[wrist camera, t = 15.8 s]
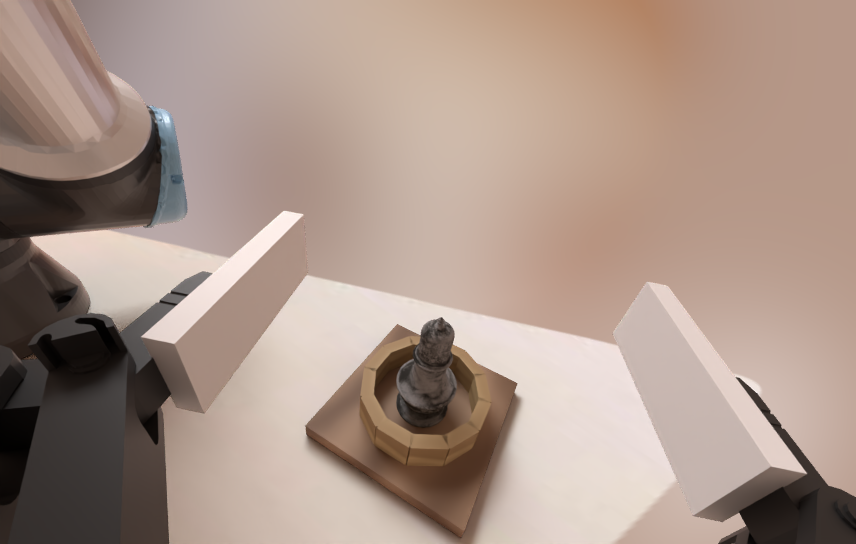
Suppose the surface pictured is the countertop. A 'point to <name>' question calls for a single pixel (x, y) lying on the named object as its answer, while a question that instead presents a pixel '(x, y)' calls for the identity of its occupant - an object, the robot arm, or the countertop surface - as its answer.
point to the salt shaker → (428, 377)
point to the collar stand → (417, 431)
